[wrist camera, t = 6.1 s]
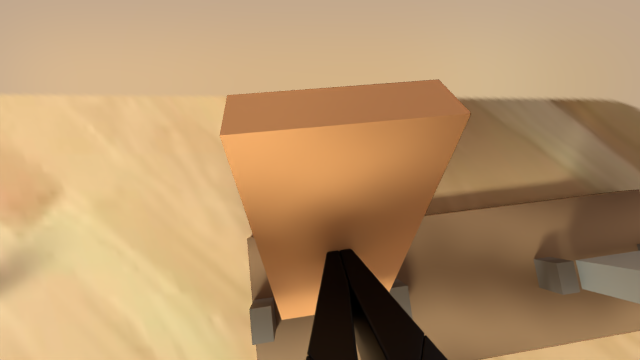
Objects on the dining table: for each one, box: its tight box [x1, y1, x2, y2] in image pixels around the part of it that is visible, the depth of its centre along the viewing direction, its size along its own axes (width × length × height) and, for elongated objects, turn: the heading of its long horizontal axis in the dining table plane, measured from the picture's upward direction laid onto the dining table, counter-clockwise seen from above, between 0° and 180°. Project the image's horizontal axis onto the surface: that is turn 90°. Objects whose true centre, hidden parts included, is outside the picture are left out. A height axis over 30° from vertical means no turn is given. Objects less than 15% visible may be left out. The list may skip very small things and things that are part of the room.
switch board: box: [247, 190, 640, 360], centre depth 15 cm, size 8×24×2 cm, turn 97°
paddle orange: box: [220, 80, 471, 320], centre depth 10 cm, size 2×5×11 cm
